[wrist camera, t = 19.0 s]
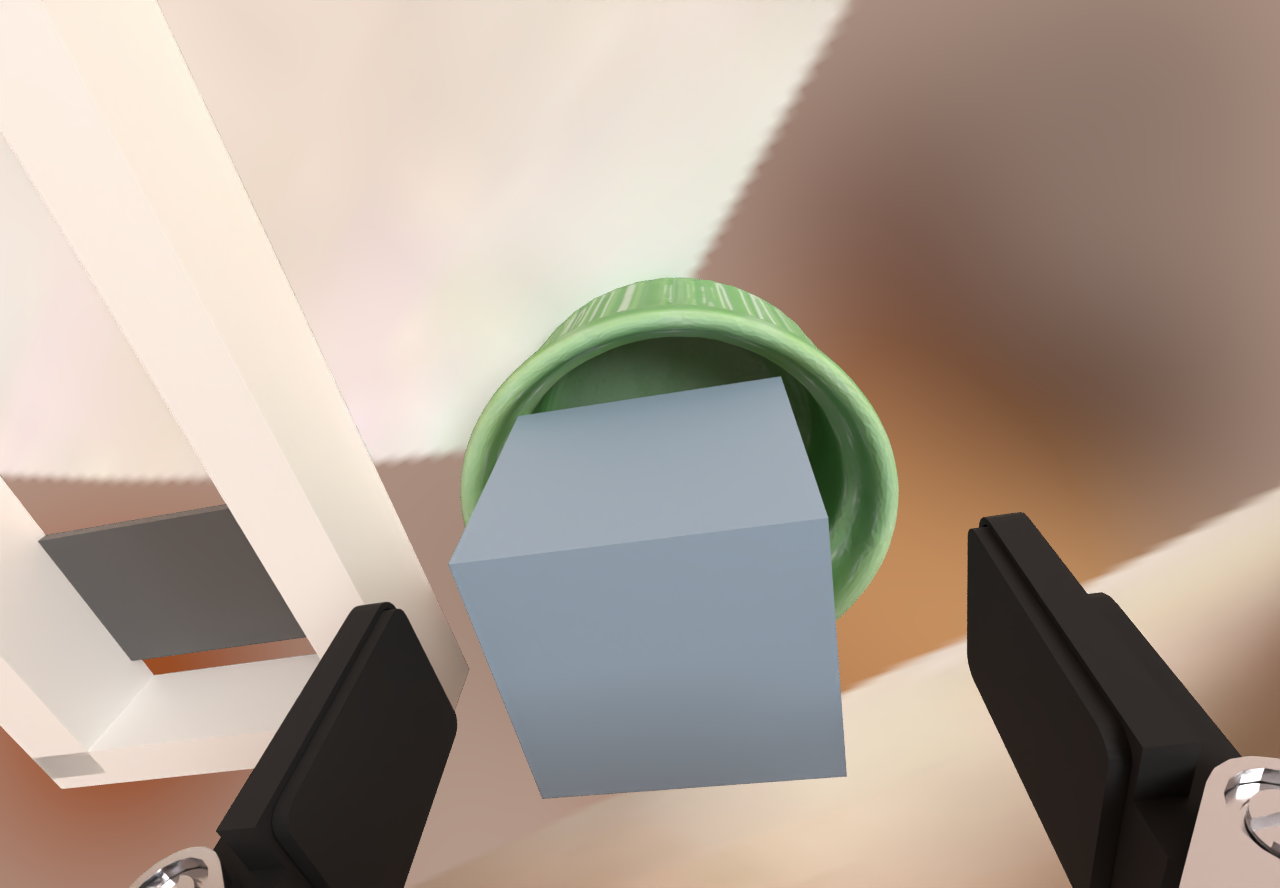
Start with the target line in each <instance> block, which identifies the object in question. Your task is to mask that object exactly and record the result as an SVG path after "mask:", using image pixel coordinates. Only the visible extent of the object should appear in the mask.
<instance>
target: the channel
mask: <svg viewBox="0 0 1280 888" xmlns="http://www.w3.org/2000/svg"><path fill="white" fill-rule="evenodd" d="M0 131H1V132H2V134H3V136H4V137H5V139H6V141H7V142H8V144H9V146H10V147H11V149H12V151H13V152H14V154H15V156H16V157H17V159H18V161H19V162H20V164H21V166H22V167H23V169H24V170H25V172H26V174H27V175H28V177H29V179H30V180H31V182H32V184H33V185H34V187H35V189H36V190H37V192H38V194H39V195H40V197H41V199H42V200H43V202H44V204H45V205H46V207H47V209H48V210H49V212H50V213H51V215H52V217H53V218H54V220H55V222H56V223H57V225H58V227H59V228H60V230H61V232H62V233H63V235H64V237H65V238H66V240H67V242H68V243H69V245H70V247H71V248H72V250H73V252H74V253H75V255H76V256H77V258H78V260H79V261H80V263H81V265H82V266H83V268H84V270H85V271H86V273H87V275H88V276H89V278H90V280H91V281H92V283H93V285H94V286H95V288H96V290H97V291H98V293H99V295H100V296H101V298H102V299H103V301H104V303H105V304H106V306H107V308H108V309H109V311H110V313H111V314H112V316H113V318H114V319H115V321H116V323H117V324H118V326H119V328H120V329H121V331H122V333H123V334H124V336H125V337H126V339H127V341H128V342H129V344H130V346H131V347H132V349H133V351H134V352H135V354H136V356H137V357H138V359H139V361H140V362H141V364H142V366H143V367H144V369H145V371H146V372H147V374H148V376H149V377H150V379H151V380H152V382H153V384H154V385H155V387H156V389H157V390H158V392H159V394H160V395H161V397H162V399H163V400H164V402H165V404H166V405H167V407H168V409H169V410H170V412H171V414H172V415H173V417H174V419H175V420H176V422H177V423H178V425H179V427H180V428H181V430H182V432H183V433H184V435H185V437H186V438H187V440H188V442H189V443H190V445H191V447H192V448H193V450H194V452H195V453H196V455H197V457H198V458H199V460H200V461H201V463H202V465H203V466H204V468H205V470H206V471H207V473H208V475H209V476H210V478H211V480H212V481H213V483H214V485H215V486H216V488H217V490H218V491H219V493H220V495H221V496H222V498H223V499H224V501H225V503H226V504H225V505H218V506H213V507H207V508H201V509H196V510H190V511H184V512H178V513H173V514H166V515H160V516H155V517H149V518H143V519H138V520H132V521H126V522H120V523H114V524H109V525H102V526H97V527H91V528H85V529H80V530H73V531H68V532H62V533H56V534H50V535H45V534H44V532H43V531H42V530H41V528H40V527H39V526H38V524H37V523H36V522H35V521H34V519H33V518H32V517H31V515H30V514H29V513H28V512H27V510H26V509H25V508H24V506H23V505H22V504H21V502H20V501H19V500H18V499H17V497H16V496H15V495H14V494H13V492H12V491H11V489H10V488H9V487H8V486H7V485H6V483H5V482H4V480H3V479H2V478H1V477H0V726H1V727H2V728H3V729H4V730H5V731H6V732H7V733H8V734H9V735H10V736H11V737H12V738H13V739H14V740H15V741H16V742H17V743H18V744H19V745H20V746H21V747H22V748H23V749H24V750H25V752H27V754H28V755H29V756H30V757H31V758H32V759H33V760H34V761H35V762H36V763H37V764H38V765H39V766H40V767H41V768H42V769H43V770H44V771H45V772H46V773H47V774H48V775H49V776H50V777H51V778H52V779H53V780H54V782H56V784H57V785H58V786H59V787H60V788H62V789H64V788H74V787H83V786H93V785H102V784H112V783H121V782H131V781H140V780H149V779H159V778H168V777H177V776H187V775H196V774H206V773H215V772H224V771H234V770H244V769H253V768H255V766H256V765H257V763H258V761H259V760H260V758H261V757H262V755H263V753H264V752H265V750H266V748H267V747H268V745H269V743H270V742H271V740H272V739H273V737H274V735H275V734H276V732H277V730H278V729H279V727H280V726H281V724H282V722H283V721H284V719H285V717H286V716H287V714H288V712H289V711H290V709H291V708H292V706H293V704H294V703H295V701H296V699H297V698H298V696H299V695H300V693H301V691H302V690H303V688H304V686H305V685H306V683H307V681H308V680H309V678H310V677H311V675H312V673H313V672H314V670H315V668H316V667H317V665H318V664H319V662H320V660H321V659H322V657H323V655H324V654H325V652H326V650H327V649H328V647H329V646H330V644H331V642H332V641H333V639H334V637H335V636H336V634H337V633H338V631H339V629H340V628H341V626H342V624H343V623H344V621H345V619H346V618H347V616H348V615H349V613H350V612H351V610H352V609H353V608H354V607H356V606H360V605H367V604H374V603H381V602H390V603H392V604H393V605H394V606H395V607H396V609H402V610H403V611H404V612H405V614H406V615H407V617H408V619H409V621H410V623H411V625H412V627H413V629H414V631H415V633H416V635H417V637H418V639H419V641H420V643H421V645H422V647H423V649H424V651H425V653H426V655H427V657H428V659H429V661H430V663H431V665H432V667H433V669H434V671H435V673H436V675H437V677H438V679H439V681H440V683H441V685H442V687H443V689H444V691H445V693H446V695H447V697H448V699H449V701H450V703H451V705H452V707H453V709H454V711H455V708H456V706H457V703H458V700H459V697H460V694H461V691H462V689H463V686H464V683H465V680H466V677H467V674H468V671H469V667H468V665H467V663H466V661H465V658H464V656H463V654H462V652H461V650H460V648H459V646H458V643H457V641H456V639H455V637H454V635H453V633H452V631H451V628H450V626H449V624H448V622H447V620H446V618H445V616H444V613H443V612H442V609H441V607H440V605H439V603H438V601H437V599H436V596H435V594H434V592H433V590H432V588H431V586H430V584H429V582H428V579H427V577H426V575H425V573H424V571H423V569H422V567H421V564H420V562H419V560H418V558H417V556H416V554H415V552H414V549H413V547H412V545H411V543H410V541H409V539H408V537H407V535H406V532H405V530H404V528H403V526H402V524H401V522H400V520H399V518H398V515H397V513H396V511H395V509H394V507H393V505H392V502H391V500H390V498H389V496H388V494H387V492H386V490H385V487H384V486H383V483H382V481H381V479H380V477H379V475H378V473H377V470H376V468H375V466H374V464H373V462H372V460H371V458H370V455H369V453H368V451H367V449H366V447H365V445H364V443H363V441H362V438H361V436H360V434H359V432H358V430H357V428H356V426H355V423H354V421H353V419H352V417H351V415H350V413H349V411H348V408H347V406H346V404H345V402H344V400H343V398H342V396H341V394H340V391H339V389H338V387H337V385H336V383H335V381H334V379H333V376H332V374H331V372H330V370H329V368H328V366H327V364H326V361H325V359H324V357H323V355H322V353H321V351H320V349H319V347H318V344H317V342H316V340H315V338H314V336H313V334H312V332H311V329H310V327H309V325H308V323H307V321H306V319H305V317H304V315H303V312H302V310H301V308H300V306H299V304H298V302H297V300H296V297H295V295H294V293H293V291H292V289H291V287H290V285H289V282H288V280H287V278H286V276H285V274H284V272H283V270H282V268H281V265H280V263H279V261H278V259H277V257H276V255H275V253H274V250H273V248H272V246H271V244H270V242H269V240H268V238H267V235H266V233H265V231H264V229H263V227H262V225H261V223H260V221H259V218H258V216H257V214H256V212H255V210H254V208H253V206H252V203H251V201H250V199H249V197H248V195H247V193H246V191H245V189H244V186H243V184H242V182H241V180H240V178H239V176H238V174H237V171H236V169H235V167H234V165H233V163H232V161H231V159H230V156H229V154H228V152H227V150H226V148H225V146H224V144H223V142H222V139H221V137H220V135H219V133H218V131H217V129H216V127H215V124H214V122H213V120H212V118H211V116H210V114H209V112H208V109H207V107H206V105H205V103H204V101H203V99H202V97H201V95H200V92H199V90H198V88H197V86H196V84H195V82H194V80H193V77H192V75H191V73H190V71H189V69H188V67H187V65H186V63H185V60H184V58H183V56H182V54H181V52H180V50H179V48H178V45H177V43H176V41H175V39H174V37H173V35H172V33H171V30H170V28H169V26H168V24H167V22H166V20H165V18H164V16H163V13H162V11H161V9H160V7H159V5H158V3H157V1H156V0H0ZM303 637H307V638H308V640H309V641H310V643H311V645H312V647H313V648H314V650H315V652H316V653H317V654H312V655H303V656H295V657H288V658H281V659H273V660H265V661H258V662H250V663H243V664H235V665H228V666H220V667H213V668H206V669H198V670H190V671H183V672H175V673H167V674H161V675H153V673H152V672H151V671H150V669H149V668H148V667H147V666H146V664H145V663H144V662H143V659H150V658H157V657H164V656H172V655H179V654H186V653H194V652H201V651H208V650H215V649H222V648H230V647H238V646H244V645H252V644H259V643H267V642H273V641H282V640H289V639H296V638H303Z"/></svg>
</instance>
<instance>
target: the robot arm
mask: <svg viewBox="0 0 1280 888" xmlns="http://www.w3.org/2000/svg"><path fill="white" fill-rule="evenodd" d="M967 592H968V593H967V595H968V596H967V603H968V604H967V658H968V664H969V668H970V671H971V674H972V677H973V679H974V682H975V684H976V686H977V688H978V690H979V692H980V694H981V696H982V698H983V701H984V703H985V705H986V707H987V709H988V711H989V713H990V715H991V717H992V719H993V722H994V724H995V726H996V728H997V730H998V732H999V734H1000V736H1001V738H1002V740H1003V742H1004V745H1005V747H1006V749H1007V751H1008V753H1009V755H1010V757H1011V759H1012V761H1013V763H1014V766H1015V768H1016V770H1017V772H1018V774H1019V776H1020V778H1021V780H1022V782H1023V784H1024V786H1025V789H1026V791H1027V793H1028V795H1029V797H1030V799H1031V801H1032V803H1033V805H1034V807H1035V810H1036V812H1037V814H1038V816H1039V818H1040V820H1041V822H1042V824H1043V826H1044V828H1045V831H1046V833H1047V835H1048V837H1049V839H1050V841H1051V843H1052V845H1053V847H1054V849H1055V851H1056V854H1057V856H1058V858H1059V860H1060V862H1061V864H1062V866H1063V868H1064V870H1065V872H1066V875H1067V877H1068V879H1069V881H1070V883H1071V885H1072V887H1073V888H1280V759H1278V758H1272V757H1260V756H1246V757H1242V756H1241V755H1240V754H1239V753H1238V752H1237V750H1236V749H1235V748H1234V747H1233V745H1232V744H1231V743H1230V742H1229V740H1228V739H1227V738H1226V737H1225V736H1224V734H1223V733H1222V732H1221V731H1220V729H1219V728H1218V727H1217V726H1216V725H1215V723H1214V722H1213V721H1212V720H1211V718H1210V717H1209V716H1208V715H1207V713H1206V712H1205V711H1204V710H1203V709H1202V707H1201V706H1200V705H1199V704H1198V702H1197V701H1196V700H1195V699H1194V697H1193V696H1192V695H1191V694H1190V693H1189V691H1188V690H1187V689H1186V688H1185V686H1184V685H1183V684H1182V683H1181V682H1180V680H1179V679H1178V678H1177V677H1176V675H1175V674H1174V673H1173V672H1172V670H1171V669H1170V668H1169V667H1168V666H1167V664H1166V663H1165V662H1164V661H1163V659H1162V658H1161V657H1160V656H1159V654H1158V653H1157V652H1156V651H1155V650H1154V648H1153V647H1152V646H1151V645H1150V643H1149V642H1148V641H1147V640H1146V639H1145V637H1144V636H1143V635H1142V634H1141V632H1140V631H1139V630H1138V629H1137V627H1136V626H1135V625H1134V624H1133V623H1132V621H1131V620H1130V619H1129V618H1128V616H1127V615H1126V614H1125V613H1124V611H1123V610H1122V609H1121V608H1120V607H1119V605H1118V604H1117V603H1116V602H1115V601H1114V600H1113V599H1112V598H1111V597H1110V596H1108V595H1106V594H1104V593H1102V592H1101V593H1093V594H1087V593H1086V591H1085V590H1084V589H1083V587H1082V586H1081V585H1080V584H1079V582H1078V581H1077V580H1076V578H1075V577H1074V576H1073V574H1072V573H1071V572H1070V571H1069V569H1068V568H1067V567H1066V565H1065V564H1064V563H1063V562H1062V560H1061V559H1060V558H1059V556H1058V555H1057V554H1056V552H1055V551H1054V550H1053V549H1052V547H1051V546H1050V545H1049V543H1048V542H1047V541H1046V540H1045V538H1044V537H1043V536H1042V535H1041V533H1040V532H1039V530H1038V529H1037V528H1036V527H1035V525H1034V524H1033V523H1032V522H1031V520H1030V519H1029V518H1028V517H1027V516H1026V515H1025V514H1024V513H1022V512H1019V513H1011V514H1003V515H996V516H989V517H983V518H982V519H981V520H980V523H979V528H973V529H970V530H969V532H968V589H967ZM456 731H457V718H456V714H455V711H454V709H453V707H452V705H451V703H450V701H449V699H448V697H447V695H446V693H445V691H444V689H443V687H442V685H441V683H440V681H439V679H438V677H437V675H436V673H435V671H434V669H433V667H432V665H431V663H430V661H429V659H428V657H427V655H426V653H425V651H424V649H423V647H422V645H421V643H420V641H419V639H418V637H417V635H416V633H415V631H414V629H413V627H412V625H411V623H410V621H409V619H408V617H407V615H406V614H405V612H404V611H403V610H402V609H396V607H395V606H394V605H393V604H392V603H390V602H381V603H374V604H367V605H360V606H356V607H354V608H353V609H352V610H351V612H350V613H349V615H348V616H347V618H346V619H345V621H344V623H343V624H342V626H341V628H340V629H339V631H338V633H337V634H336V636H335V637H334V639H333V641H332V642H331V644H330V646H329V647H328V649H327V650H326V652H325V654H324V655H323V657H322V659H321V660H320V662H319V664H318V665H317V667H316V668H315V670H314V672H313V673H312V675H311V677H310V678H309V680H308V681H307V683H306V685H305V686H304V688H303V690H302V691H301V693H300V695H299V696H298V698H297V699H296V701H295V703H294V704H293V706H292V708H291V709H290V711H289V712H288V714H287V716H286V717H285V719H284V721H283V722H282V724H281V726H280V727H279V729H278V730H277V732H276V734H275V735H274V737H273V739H272V740H271V742H270V743H269V745H268V747H267V748H266V750H265V752H264V753H263V755H262V757H261V758H260V760H259V761H258V763H257V765H256V766H255V768H254V770H253V771H252V773H251V774H250V776H249V778H248V779H247V781H246V783H245V784H244V786H243V788H242V789H241V791H240V793H239V794H238V796H237V797H236V799H235V801H234V802H233V804H232V805H231V807H230V809H229V810H228V812H227V814H226V815H225V817H224V819H223V820H222V822H221V823H220V825H219V827H218V828H217V830H216V832H217V833H218V834H219V835H220V836H221V838H220V840H219V841H218V843H217V845H216V846H215V848H214V850H211V849H209V848H207V847H191V848H188V849H185V850H181V851H178V852H176V853H174V854H172V855H170V856H169V857H166V858H165V859H163V860H161V861H159V862H158V863H157V864H155V865H154V866H153V867H151V868H150V869H149V870H147V871H146V872H145V873H144V874H142V875H141V876H140V877H139V878H138V879H137V880H136V881H135V882H134V883H133V884H132V885H131V886H130V887H129V888H404V885H405V882H406V879H407V876H408V873H409V871H410V867H411V865H412V862H413V859H414V856H415V853H416V850H417V847H418V844H419V841H420V838H421V835H422V832H423V829H424V827H425V824H426V821H427V817H428V815H429V812H430V809H431V806H432V803H433V800H434V797H435V794H436V791H437V788H438V785H439V782H440V780H441V777H442V774H443V771H444V768H445V765H446V762H447V759H448V756H449V753H450V750H451V747H452V744H453V741H454V738H455V735H456Z"/></svg>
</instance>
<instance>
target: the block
mask: <svg viewBox="0 0 1280 888" xmlns="http://www.w3.org/2000/svg"><path fill="white" fill-rule="evenodd" d="M449 567H450V570H451V573H452V575H453V578H454V580H455V583H456V585H457V587H458V590H459V592H460V595H461V597H462V600H463V602H464V605H465V607H466V610H467V612H468V615H469V617H470V620H471V622H472V625H473V627H474V630H475V632H476V635H477V637H478V640H479V642H480V645H481V647H482V649H483V652H484V655H485V657H486V660H487V662H488V665H489V667H490V669H491V672H492V675H493V677H494V680H495V682H496V684H497V687H498V690H499V692H500V694H501V697H502V699H503V702H504V704H505V707H506V709H507V712H508V714H509V717H510V719H511V722H512V724H513V726H514V729H515V732H516V734H517V737H518V739H519V741H520V744H521V747H522V749H523V752H524V754H525V757H526V759H527V761H528V764H529V767H530V769H531V772H532V774H533V776H534V779H535V782H536V784H537V787H538V789H539V791H540V794H541V796H542V798H543V799H544V798H559V797H572V796H585V795H600V794H613V793H627V792H640V791H654V790H668V789H681V788H695V787H709V786H722V785H736V784H750V783H763V782H777V781H790V780H804V779H818V778H831V777H845V776H847V773H846V759H845V745H844V731H843V718H842V704H841V690H840V677H839V662H838V649H837V636H836V635H837V634H836V620H835V606H834V592H833V578H832V564H831V550H830V536H829V522H828V516H827V513H826V510H825V507H824V504H823V501H822V498H821V495H820V492H819V489H818V486H817V483H816V480H815V477H814V474H813V471H812V468H811V465H810V462H809V459H808V456H807V453H806V450H805V447H804V444H803V441H802V438H801V435H800V432H799V429H798V426H797V423H796V420H795V417H794V414H793V411H792V408H791V405H790V402H789V399H788V396H787V393H786V390H785V387H784V384H783V381H782V378H781V376H780V377H773V378H767V379H760V380H754V381H747V382H740V383H734V384H727V385H721V386H714V387H707V388H701V389H694V390H688V391H681V392H674V393H668V394H661V395H655V396H648V397H641V398H635V399H628V400H622V401H615V402H608V403H602V404H595V405H589V406H582V407H575V408H569V409H562V410H556V411H549V412H542V413H536V414H529V415H523V416H518V417H517V420H516V422H515V424H514V426H513V428H512V430H511V432H510V434H509V437H508V439H507V441H506V443H505V445H504V447H503V449H502V451H501V454H500V456H499V458H498V460H497V462H496V464H495V466H494V468H493V471H492V473H491V475H490V477H489V479H488V481H487V483H486V485H485V488H484V490H483V492H482V494H481V496H480V498H479V500H478V503H477V505H476V507H475V509H474V511H473V513H472V515H471V517H470V520H469V522H468V524H467V526H466V528H465V530H464V532H463V534H462V537H461V539H460V541H459V543H458V545H457V547H456V549H455V551H454V554H453V556H452V558H451V560H450V562H449Z"/></svg>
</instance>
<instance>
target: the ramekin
mask: <svg viewBox="0 0 1280 888" xmlns="http://www.w3.org/2000/svg"><path fill="white" fill-rule="evenodd" d="M780 376H781V378H782V381H783V384H784V387H785V390H786V393H787V396H788V399H789V402H790V405H791V408H792V411H793V414H794V417H795V420H796V423H797V426H798V429H799V432H800V435H801V438H802V441H803V444H804V447H805V450H806V453H807V456H808V459H809V462H810V465H811V468H812V471H813V474H814V477H815V480H816V483H817V486H818V489H819V492H820V495H821V498H822V501H823V504H824V507H825V510H826V513H827V516H828V522H829V536H830V550H831V564H832V578H833V592H834V606H835V620H837V619H839V618H840V617H841V616H842V615H843V614H844V613H845V612H846V611H847V610H848V609H849V608H850V607H851V606H852V605H853V604H854V603H855V601H856V600H857V599H858V598H859V597H860V596H861V594H862V593H863V592H864V591H865V589H866V588H867V587H868V585H869V584H870V583H871V581H872V580H873V578H874V576H875V575H876V572H877V571H878V569H879V567H880V566H881V564H882V562H883V560H884V557H885V555H886V553H887V551H888V549H889V546H890V542H891V538H892V535H893V531H894V528H895V523H896V517H897V509H898V493H899V487H898V476H897V470H896V464H895V460H894V454H893V451H892V448H891V445H890V442H889V439H888V436H887V434H886V432H885V430H884V427H883V426H882V423H881V421H880V419H879V417H878V416H877V414H876V412H875V410H874V408H873V407H872V406H871V404H870V402H869V401H868V399H867V398H866V397H865V395H864V394H863V393H862V391H861V390H860V389H859V388H858V386H857V385H856V384H855V383H854V381H853V380H852V379H851V378H850V377H849V376H848V375H847V374H846V373H845V372H844V371H843V370H842V369H841V368H840V367H839V366H838V365H837V364H836V363H834V362H833V361H832V360H831V359H830V358H829V357H828V356H826V355H825V354H824V353H823V352H821V351H820V350H819V349H818V348H817V347H816V346H815V345H814V344H813V343H812V341H811V340H810V339H809V338H808V337H807V336H806V335H805V334H804V333H803V332H802V330H801V329H800V328H799V326H798V325H797V324H796V323H795V322H794V321H792V320H791V319H790V318H789V317H787V316H786V315H785V314H784V313H783V312H781V311H780V310H779V309H778V308H776V307H775V306H773V305H771V304H770V303H768V302H766V301H764V300H763V299H761V298H759V297H757V296H755V295H753V294H750V293H748V292H745V291H743V290H741V289H739V288H736V287H733V286H729V285H724V284H721V283H717V282H713V281H709V280H700V279H691V278H660V279H655V280H648V281H641V282H636V283H633V284H630V285H627V286H624V287H621V288H618V289H615V290H613V291H611V292H608V293H606V294H604V295H602V296H600V297H597V298H595V299H593V300H592V301H590V302H589V303H587V304H586V305H585V306H583V307H582V308H580V309H579V310H577V311H575V312H574V313H573V314H572V315H571V316H570V317H569V318H568V319H567V320H566V321H565V322H564V323H563V324H561V325H560V326H559V327H558V328H557V329H556V330H555V331H554V332H553V334H552V335H551V336H550V337H549V339H548V340H547V341H546V342H545V343H544V345H543V346H542V347H541V348H540V349H539V350H538V351H537V352H536V353H534V354H533V355H532V356H531V357H530V358H528V359H527V360H526V361H525V362H524V363H523V364H522V365H521V366H520V367H519V368H517V369H516V370H515V371H514V372H513V373H512V374H511V375H510V376H509V377H508V378H507V380H506V381H505V382H504V383H503V384H502V385H501V386H500V388H499V389H498V390H497V391H496V393H495V394H494V395H493V397H492V398H491V400H490V401H489V403H488V404H487V406H486V407H485V409H484V410H483V412H482V414H481V415H480V417H479V419H478V421H477V423H476V425H475V427H474V430H473V432H472V434H471V437H470V440H469V443H468V446H467V449H466V452H465V456H464V462H463V467H462V474H461V488H460V498H461V506H462V516H463V520H464V525H465V528H466V526H467V524H468V522H469V520H470V517H471V515H472V513H473V511H474V509H475V507H476V505H477V503H478V500H479V498H480V496H481V494H482V492H483V490H484V488H485V485H486V483H487V481H488V479H489V477H490V475H491V473H492V471H493V468H494V466H495V464H496V462H497V460H498V458H499V456H500V454H501V451H502V449H503V447H504V445H505V443H506V441H507V439H508V437H509V434H510V432H511V430H512V428H513V426H514V424H515V422H516V420H517V417H518V416H523V415H529V414H536V413H542V412H549V411H556V410H562V409H569V408H575V407H582V406H589V405H595V404H602V403H608V402H615V401H622V400H628V399H635V398H641V397H648V396H655V395H661V394H668V393H674V392H681V391H688V390H694V389H701V388H707V387H714V386H721V385H727V384H734V383H740V382H747V381H754V380H760V379H767V378H773V377H780Z"/></svg>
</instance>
